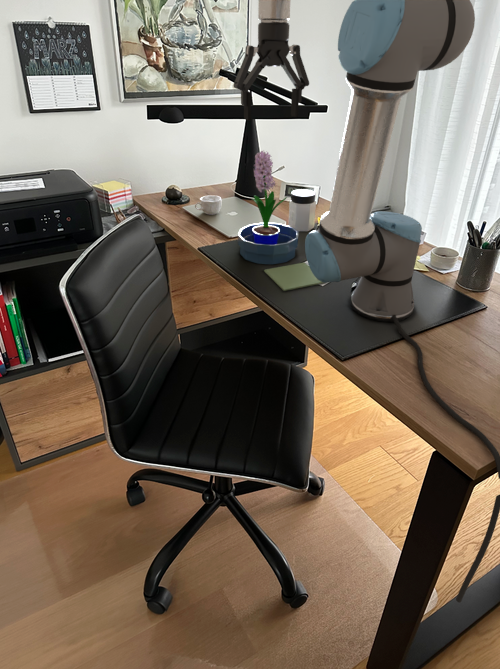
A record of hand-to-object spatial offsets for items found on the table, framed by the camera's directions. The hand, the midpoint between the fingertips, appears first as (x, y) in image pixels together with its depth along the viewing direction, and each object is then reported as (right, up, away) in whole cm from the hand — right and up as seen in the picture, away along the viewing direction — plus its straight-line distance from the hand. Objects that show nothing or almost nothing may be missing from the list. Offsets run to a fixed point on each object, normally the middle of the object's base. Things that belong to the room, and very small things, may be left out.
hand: (271, 118), depth 125 cm
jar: (+12, -20, +39) cm, 46 cm away
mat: (+7, -41, +7) cm, 42 cm away
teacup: (-21, -12, +51) cm, 56 cm away
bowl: (0, -32, +21) cm, 38 cm away
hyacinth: (0, -32, +21) cm, 38 cm away
